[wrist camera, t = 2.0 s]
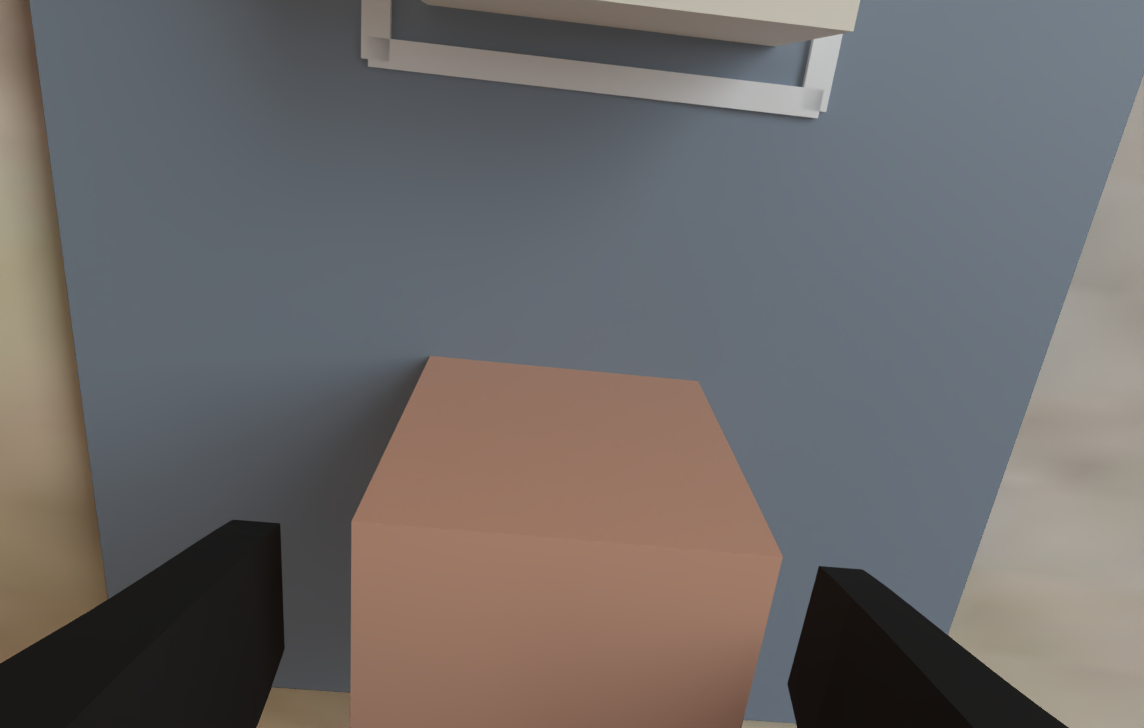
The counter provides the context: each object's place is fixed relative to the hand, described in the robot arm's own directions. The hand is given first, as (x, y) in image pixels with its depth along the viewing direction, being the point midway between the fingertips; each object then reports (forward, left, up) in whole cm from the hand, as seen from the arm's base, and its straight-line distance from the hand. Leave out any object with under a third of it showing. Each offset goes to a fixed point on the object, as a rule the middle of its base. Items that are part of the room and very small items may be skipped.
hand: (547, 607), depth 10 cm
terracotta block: (0, 0, -3) cm, 3 cm away
